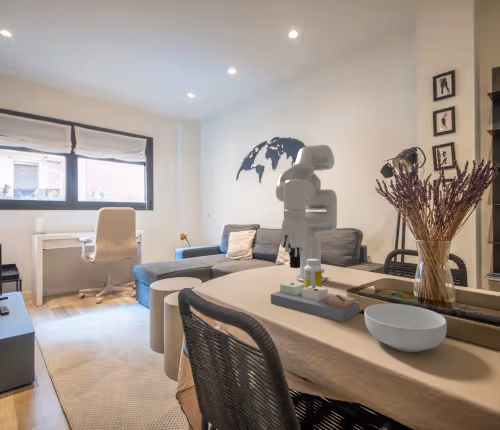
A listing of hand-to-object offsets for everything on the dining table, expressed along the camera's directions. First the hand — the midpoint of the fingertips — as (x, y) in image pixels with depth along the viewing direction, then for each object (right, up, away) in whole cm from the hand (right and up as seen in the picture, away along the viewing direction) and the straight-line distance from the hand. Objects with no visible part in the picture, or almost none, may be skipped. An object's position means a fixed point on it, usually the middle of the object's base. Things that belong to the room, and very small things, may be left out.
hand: (295, 267), depth 98 cm
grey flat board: (+6, -12, -6) cm, 14 cm away
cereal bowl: (+20, -12, -33) cm, 40 cm away
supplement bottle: (+9, -12, +11) cm, 18 cm away
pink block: (+12, -11, -12) cm, 20 cm away
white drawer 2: (+6, -10, -6) cm, 13 cm away
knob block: (-1, -10, +1) cm, 10 cm away
